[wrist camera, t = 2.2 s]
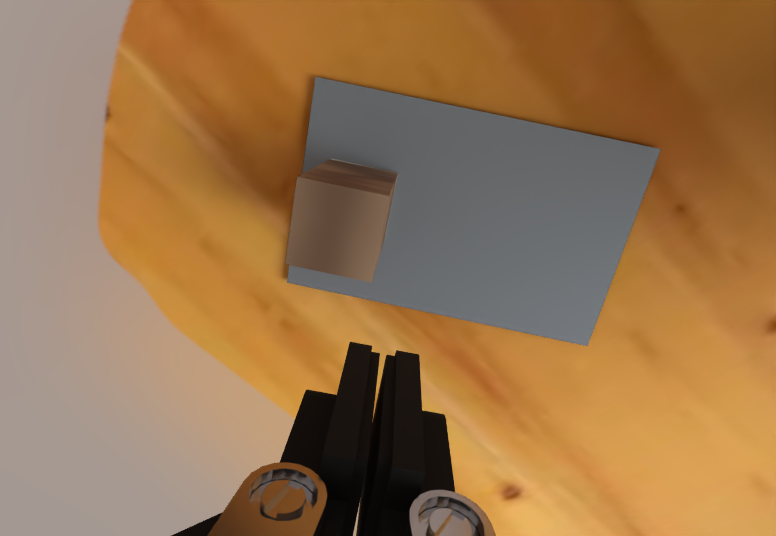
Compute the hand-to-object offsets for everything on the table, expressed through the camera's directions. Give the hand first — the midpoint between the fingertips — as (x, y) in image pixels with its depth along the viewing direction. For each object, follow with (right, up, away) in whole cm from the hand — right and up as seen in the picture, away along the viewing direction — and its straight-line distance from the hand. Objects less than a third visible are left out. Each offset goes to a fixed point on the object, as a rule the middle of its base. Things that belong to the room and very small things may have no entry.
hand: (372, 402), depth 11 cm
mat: (+5, +7, +21) cm, 23 cm away
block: (-2, +8, +21) cm, 22 cm away
